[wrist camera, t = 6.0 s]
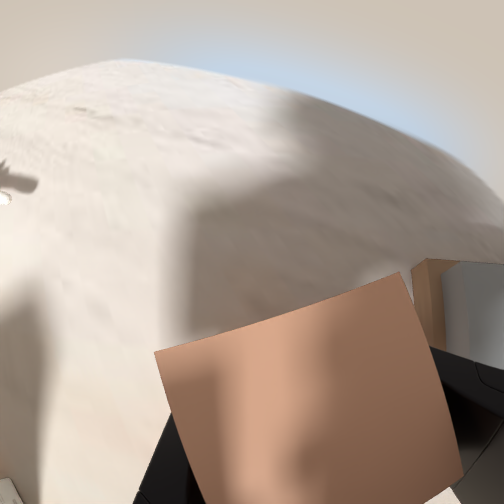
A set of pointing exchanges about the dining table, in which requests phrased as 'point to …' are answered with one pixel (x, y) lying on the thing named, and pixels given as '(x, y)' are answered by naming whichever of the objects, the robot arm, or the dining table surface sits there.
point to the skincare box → (8, 492)
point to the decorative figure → (5, 198)
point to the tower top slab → (475, 311)
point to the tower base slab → (431, 299)
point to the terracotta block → (316, 405)
